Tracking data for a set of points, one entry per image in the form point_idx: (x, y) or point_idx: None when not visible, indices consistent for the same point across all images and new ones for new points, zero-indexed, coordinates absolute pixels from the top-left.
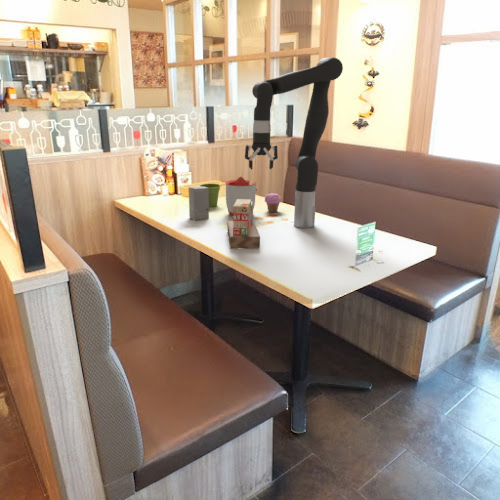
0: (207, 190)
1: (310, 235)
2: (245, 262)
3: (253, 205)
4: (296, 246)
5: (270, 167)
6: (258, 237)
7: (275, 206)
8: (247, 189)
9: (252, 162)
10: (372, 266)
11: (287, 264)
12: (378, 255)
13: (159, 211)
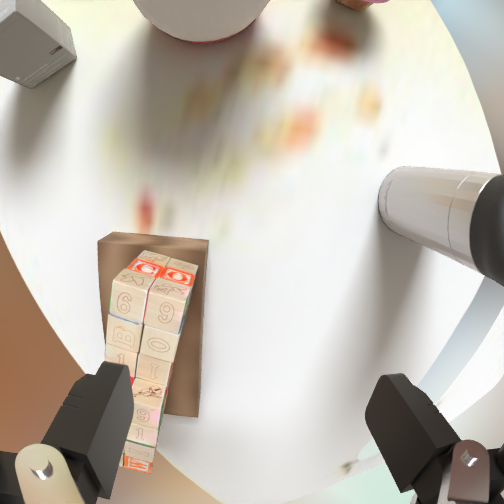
0: (15, 19)
1: (381, 309)
2: (161, 447)
3: (259, 13)
4: (301, 391)
5: (374, 431)
6: (194, 415)
7: (363, 3)
8: None
9: (113, 482)
10: (377, 459)
11: (242, 462)
12: None
13: None
